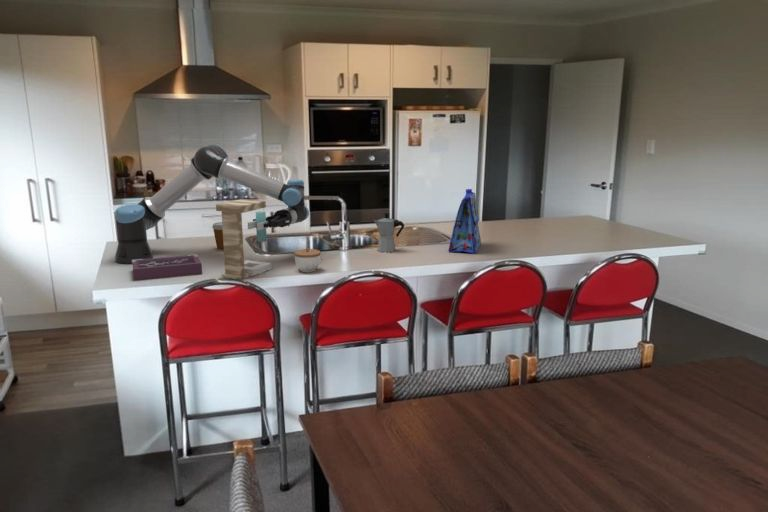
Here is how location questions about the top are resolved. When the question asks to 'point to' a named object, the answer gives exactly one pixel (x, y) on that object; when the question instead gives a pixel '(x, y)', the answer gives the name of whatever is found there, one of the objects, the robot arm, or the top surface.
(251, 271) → the socket
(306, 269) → the lidded jar
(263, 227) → the robot arm
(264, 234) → the peg
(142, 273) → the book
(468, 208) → the lunch bag
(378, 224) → the coffee maker
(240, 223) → the wooden pedestal
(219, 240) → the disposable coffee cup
